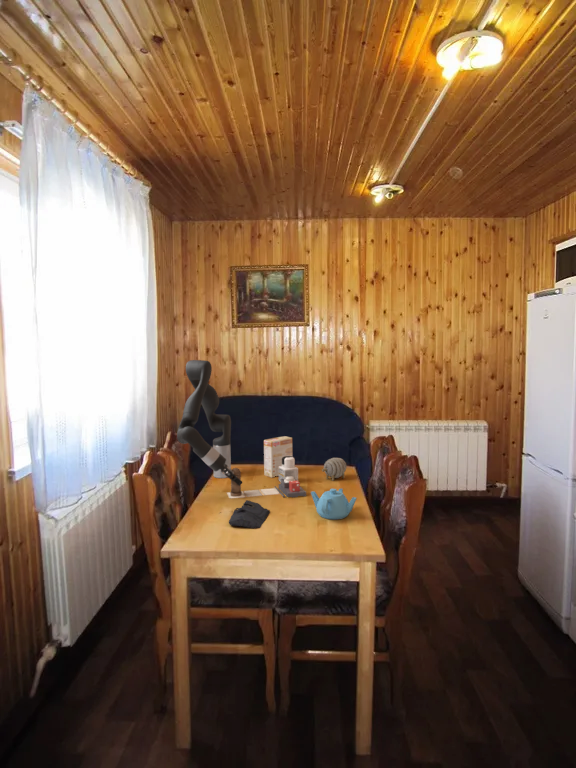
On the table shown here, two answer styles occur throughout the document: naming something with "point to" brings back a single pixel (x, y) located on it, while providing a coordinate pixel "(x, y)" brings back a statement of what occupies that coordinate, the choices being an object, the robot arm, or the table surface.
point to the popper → (292, 488)
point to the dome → (289, 479)
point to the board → (258, 493)
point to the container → (288, 468)
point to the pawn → (235, 484)
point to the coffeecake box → (276, 454)
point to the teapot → (333, 504)
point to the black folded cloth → (249, 515)
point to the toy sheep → (334, 468)
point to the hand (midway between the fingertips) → (240, 482)
